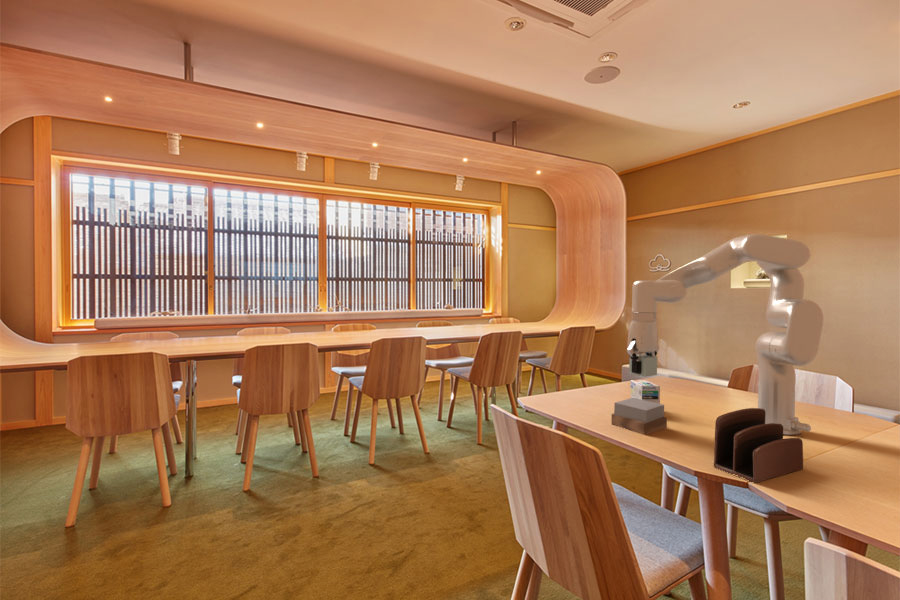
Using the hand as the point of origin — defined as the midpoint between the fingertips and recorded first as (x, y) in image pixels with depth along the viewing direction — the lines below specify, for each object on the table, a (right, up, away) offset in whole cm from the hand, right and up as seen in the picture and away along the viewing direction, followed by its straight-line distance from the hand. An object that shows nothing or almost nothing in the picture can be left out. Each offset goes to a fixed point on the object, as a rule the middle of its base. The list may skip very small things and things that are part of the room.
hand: (642, 371), depth 139 cm
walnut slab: (-1, -19, 0) cm, 19 cm away
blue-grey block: (0, -1, 0) cm, 1 cm away
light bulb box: (+9, -18, +18) cm, 27 cm away
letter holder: (+14, -19, -33) cm, 41 cm away
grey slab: (-1, -15, 0) cm, 15 cm away
